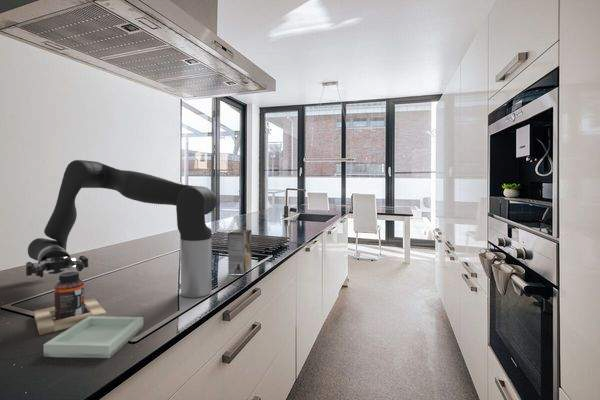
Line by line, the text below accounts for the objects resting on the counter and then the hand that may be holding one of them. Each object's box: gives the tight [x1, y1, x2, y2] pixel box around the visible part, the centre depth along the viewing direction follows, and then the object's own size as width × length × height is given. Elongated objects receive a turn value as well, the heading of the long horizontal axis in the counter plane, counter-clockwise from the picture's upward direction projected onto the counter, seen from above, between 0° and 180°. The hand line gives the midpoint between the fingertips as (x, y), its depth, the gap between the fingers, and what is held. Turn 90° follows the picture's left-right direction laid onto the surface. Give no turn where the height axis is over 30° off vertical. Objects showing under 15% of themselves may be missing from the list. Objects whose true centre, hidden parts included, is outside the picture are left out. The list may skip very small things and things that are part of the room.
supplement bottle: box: [54, 271, 85, 321], centre depth 78 cm, size 6×6×11 cm
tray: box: [42, 315, 145, 359], centre depth 67 cm, size 13×13×2 cm
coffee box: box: [227, 229, 253, 276], centre depth 120 cm, size 9×6×16 cm
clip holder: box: [33, 297, 107, 336], centre depth 79 cm, size 13×13×2 cm
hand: (61, 270), depth 86 cm, fingers open, 8 cm apart
